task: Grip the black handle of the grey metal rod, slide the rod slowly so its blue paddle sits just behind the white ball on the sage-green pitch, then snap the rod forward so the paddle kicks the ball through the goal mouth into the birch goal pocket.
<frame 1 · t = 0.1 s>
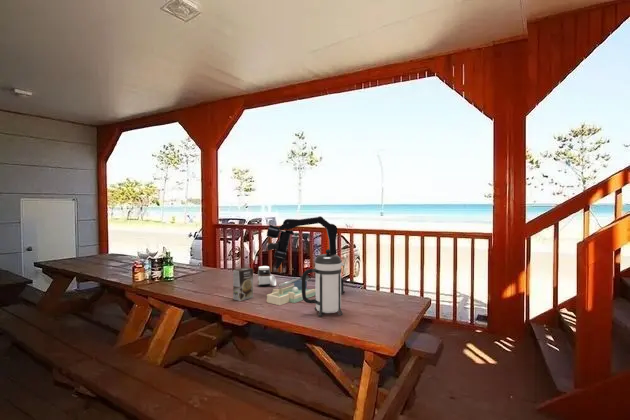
hand: (277, 266, 187), 15 cm above the table, tool pointing down, fingers open, 9 cm apart
coffee box: (243, 298, 179), on the table
coffee press: (325, 313, 154), on the table
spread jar: (267, 285, 207), on the table
rod: (297, 284, 187), point 5 cm above the table, slide at 0.0 cm
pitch: (295, 296, 183), on the table
ball: (295, 292, 182), point 2 cm above the table, touching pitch
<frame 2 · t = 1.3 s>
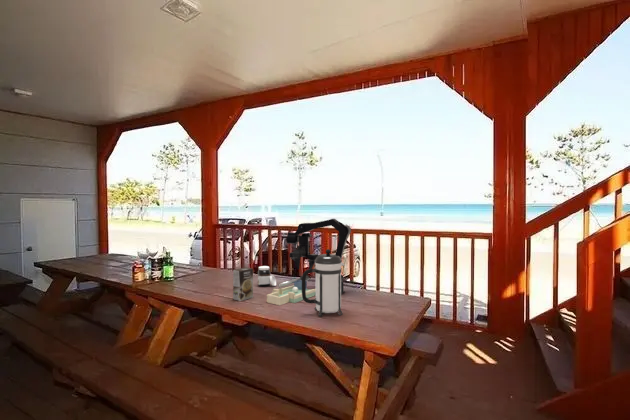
hand: (304, 270, 196), 12 cm above the table, tool pointing down, fingers open, 9 cm apart
nothing on the table moved.
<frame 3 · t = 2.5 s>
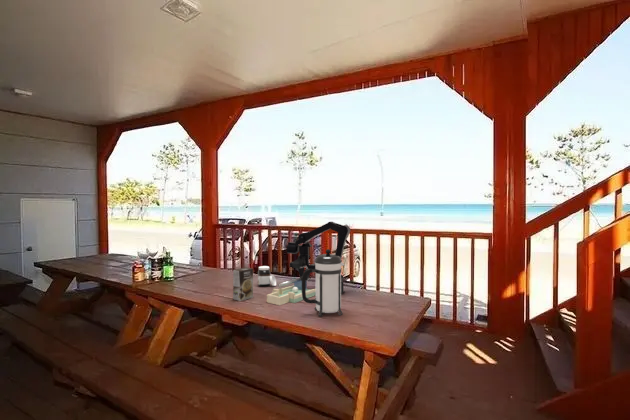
hand: (304, 280, 196), 6 cm above the table, tool pointing down, fingers closed on rod, 3 cm apart
rod: (297, 284, 187), point 5 cm above the table, slide at 0.0 cm, touching gripper
everything else where it was.
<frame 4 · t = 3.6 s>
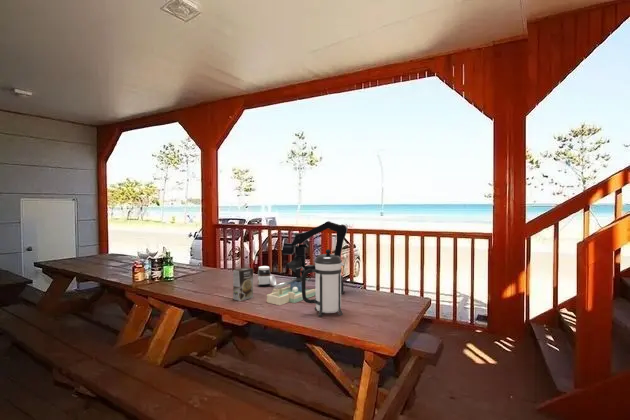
hand: (300, 281, 193), 6 cm above the table, tool pointing down, fingers closed on rod, 3 cm apart
rod: (293, 285, 184), point 5 cm above the table, slide at 3.3 cm, touching gripper
everything else where it was.
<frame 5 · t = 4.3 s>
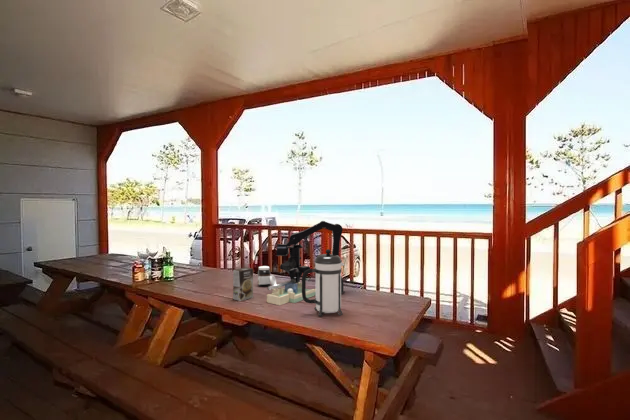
hand: (294, 282, 189), 6 cm above the table, tool pointing down, fingers closed on rod, 3 cm apart
rod: (287, 287, 180), point 5 cm above the table, slide at 8.1 cm, touching gripper
ball: (291, 288, 180), point 5 cm above the table, tilted 136°, touching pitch
everything else where it was.
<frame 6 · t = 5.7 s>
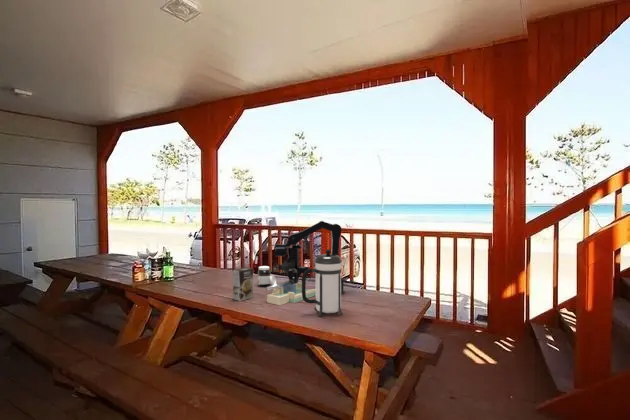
hand: (293, 283, 188), 6 cm above the table, tool pointing down, fingers closed on rod, 3 cm apart
rod: (285, 287, 179), point 5 cm above the table, slide at 9.5 cm, touching gripper
ball: (279, 296, 172), point 3 cm above the table, tilted 148°
everything else where it was.
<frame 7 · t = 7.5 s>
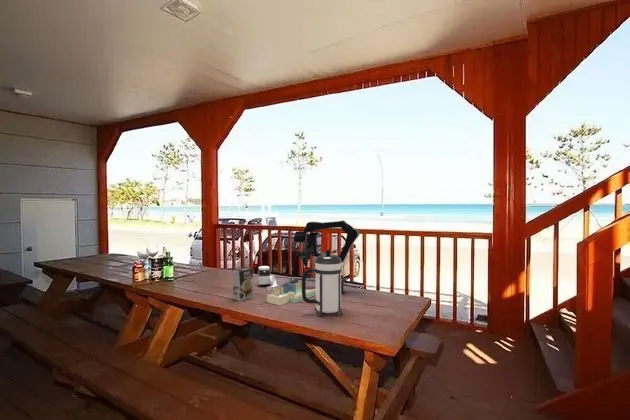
hand: (312, 269, 194), 13 cm above the table, tool pointing down, fingers open, 9 cm apart
rod: (285, 287, 179), point 5 cm above the table, slide at 9.5 cm
ball: (282, 298, 174), point 1 cm above the table, tilted 75°
everything else where it was.
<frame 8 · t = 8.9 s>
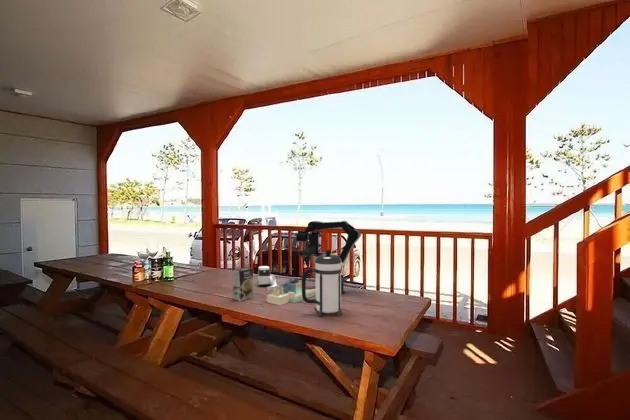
hand: (313, 268, 194), 13 cm above the table, tool pointing down, fingers open, 9 cm apart
nothing on the table moved.
at the end: ball inside the target area (3.4 cm from its centre), point 1.2 cm above the table; rod slide at 9.5 cm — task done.
